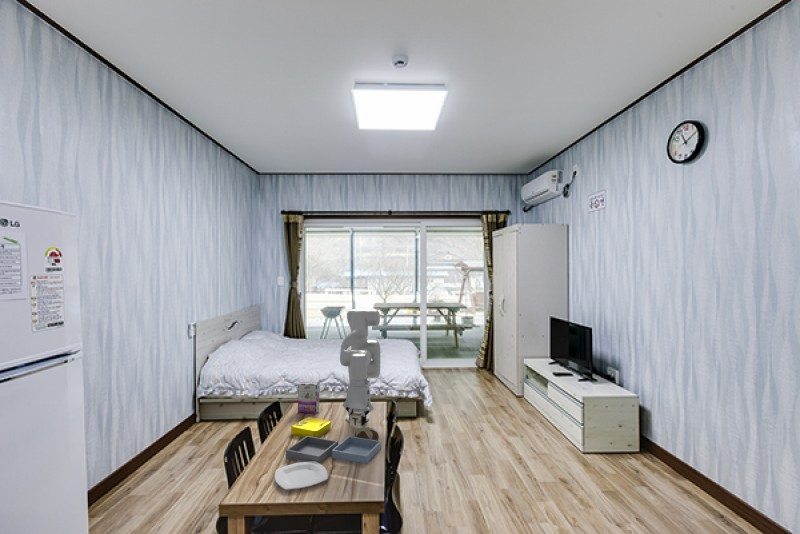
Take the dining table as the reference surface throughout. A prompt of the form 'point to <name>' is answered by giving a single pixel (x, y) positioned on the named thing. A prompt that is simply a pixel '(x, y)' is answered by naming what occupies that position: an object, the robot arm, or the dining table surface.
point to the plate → (300, 475)
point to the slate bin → (356, 449)
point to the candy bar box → (308, 397)
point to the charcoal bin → (311, 449)
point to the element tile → (310, 427)
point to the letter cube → (356, 420)
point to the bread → (367, 433)
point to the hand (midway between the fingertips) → (357, 423)
